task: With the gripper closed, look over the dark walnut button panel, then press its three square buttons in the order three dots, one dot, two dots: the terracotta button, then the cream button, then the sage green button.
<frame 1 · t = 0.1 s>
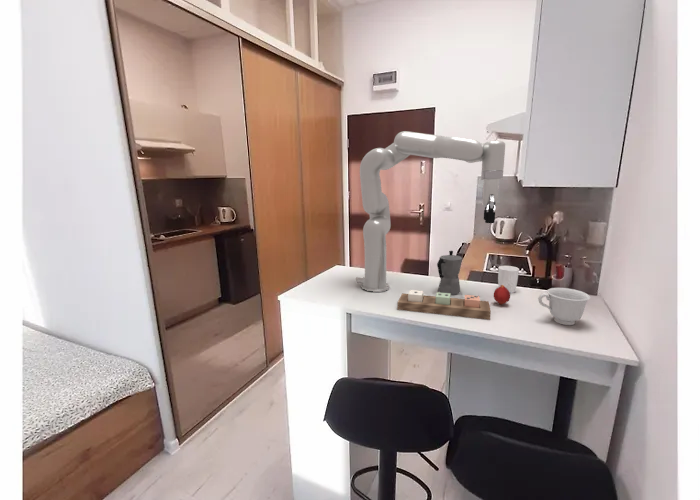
hand: (488, 221, 127), 31 cm above the countertop, fingers open, 9 cm apart
button three: (471, 301, 119), point 4 cm above the countertop, slide at 0.0 cm
button two: (443, 298, 122), point 4 cm above the countertop, slide at 0.0 cm
teacup: (559, 322, 111), on the countertop
white cup: (506, 291, 142), on the countertop
button one: (415, 296, 125), point 4 cm above the countertop, slide at 0.0 cm
coffeepot: (447, 292, 141), on the countertop
button panel: (442, 309, 123), on the countertop
pomegranate: (501, 305, 127), on the countertop
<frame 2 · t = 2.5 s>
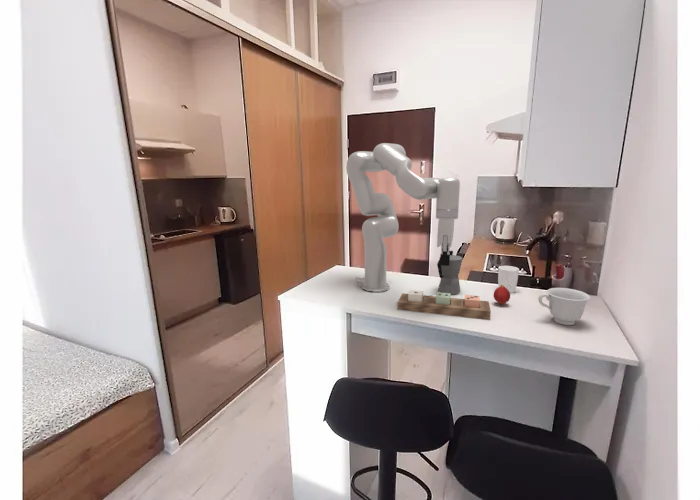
hand: (444, 264, 119), 17 cm above the countertop, fingers closed
nothing on the countertop moved.
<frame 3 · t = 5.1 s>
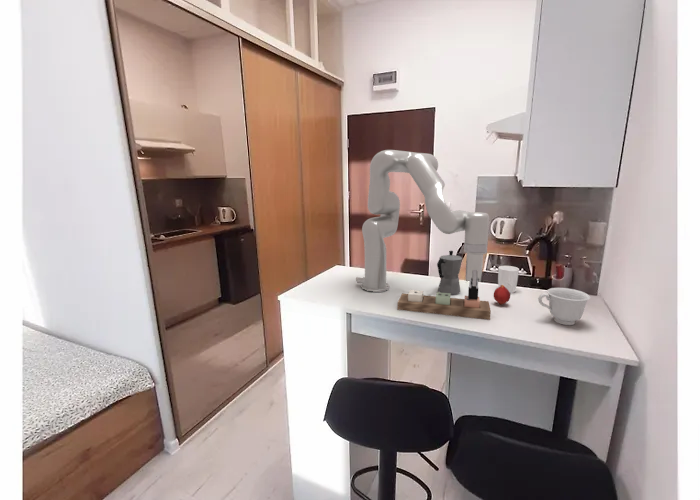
hand: (472, 298, 118), 5 cm above the countertop, fingers closed
button three: (471, 302, 119), point 4 cm above the countertop, slide at 0.4 cm, touching gripper
everything else where it was.
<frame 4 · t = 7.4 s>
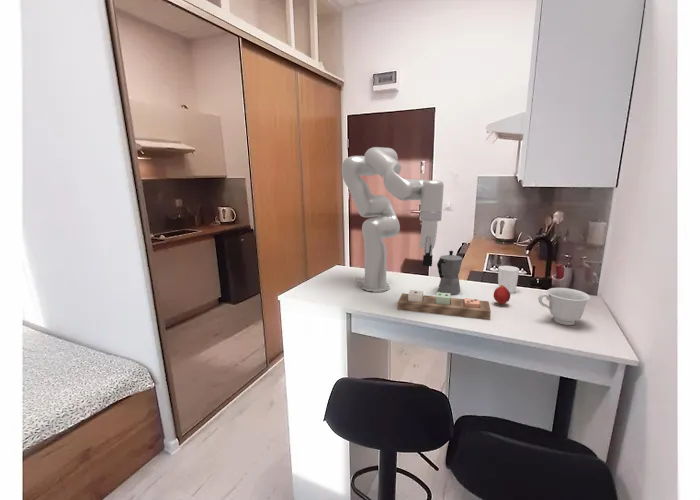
hand: (427, 265, 122), 16 cm above the countertop, fingers closed
button three: (471, 305, 119), point 3 cm above the countertop, slide at 1.3 cm
everything else where it was.
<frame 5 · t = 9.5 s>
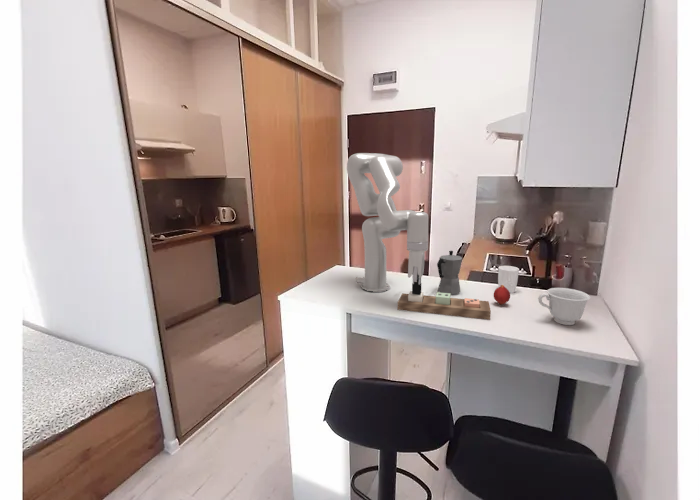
hand: (416, 293, 124), 5 cm above the countertop, fingers closed
button one: (415, 297, 125), point 4 cm above the countertop, slide at 0.5 cm, touching gripper
everything else where it was.
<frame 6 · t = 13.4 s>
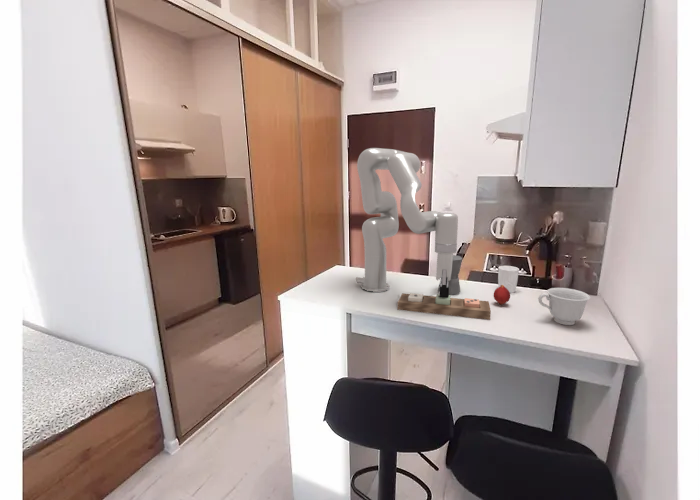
hand: (444, 296, 122), 5 cm above the countertop, fingers closed
button two: (443, 300, 122), point 3 cm above the countertop, slide at 0.8 cm, touching gripper
button one: (415, 299, 125), point 3 cm above the countertop, slide at 1.3 cm
everything else where it was.
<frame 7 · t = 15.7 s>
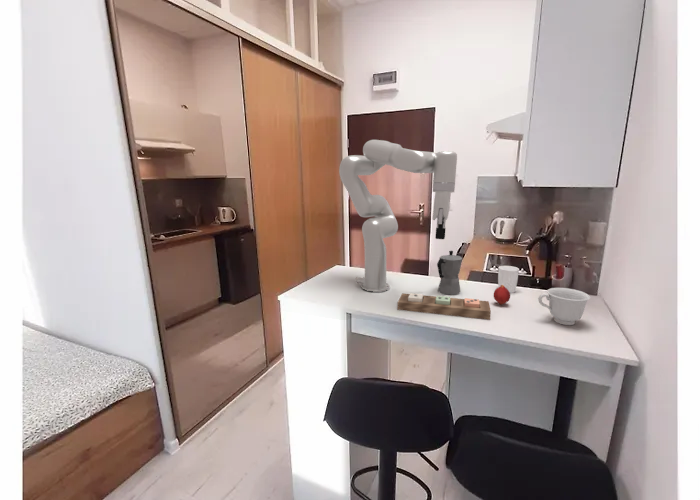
hand: (440, 238, 121), 26 cm above the countertop, fingers closed
button two: (442, 302, 122), point 3 cm above the countertop, slide at 1.3 cm
everything else where it was.
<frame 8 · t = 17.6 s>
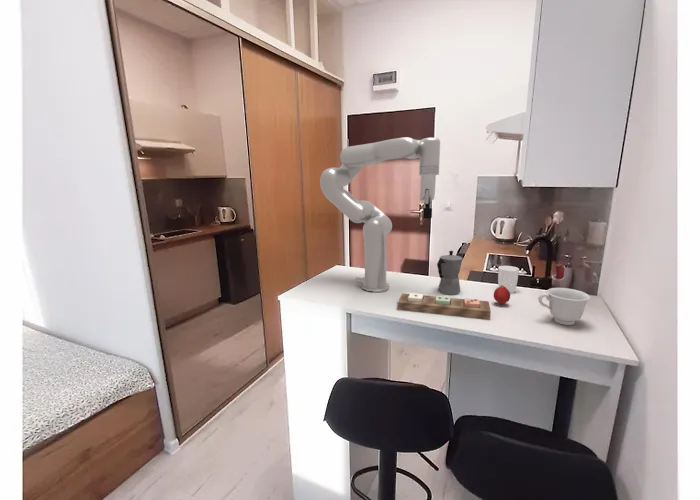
hand: (427, 218, 132), 32 cm above the countertop, fingers closed
nothing on the countertop moved.
at the end: button three slide at 1.3 cm; button one slide at 1.3 cm; button two slide at 1.3 cm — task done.
